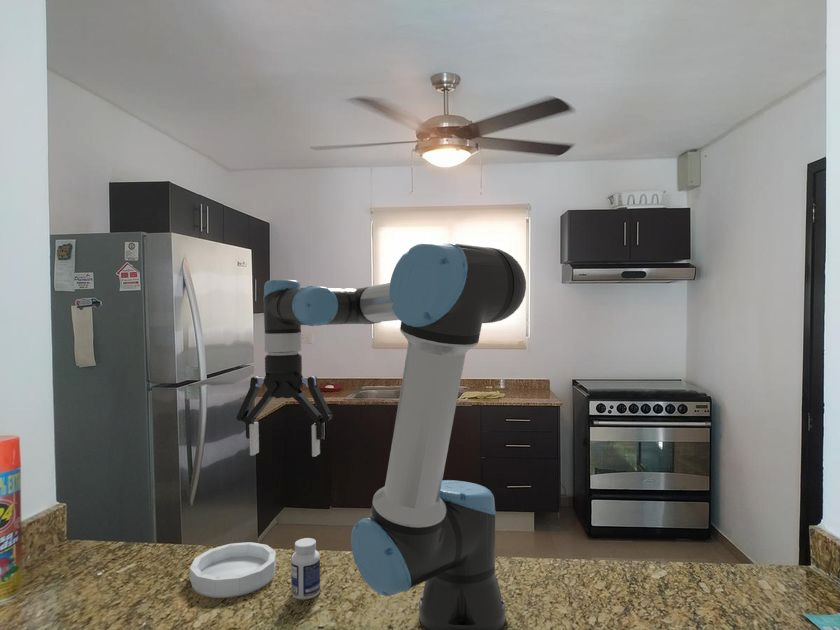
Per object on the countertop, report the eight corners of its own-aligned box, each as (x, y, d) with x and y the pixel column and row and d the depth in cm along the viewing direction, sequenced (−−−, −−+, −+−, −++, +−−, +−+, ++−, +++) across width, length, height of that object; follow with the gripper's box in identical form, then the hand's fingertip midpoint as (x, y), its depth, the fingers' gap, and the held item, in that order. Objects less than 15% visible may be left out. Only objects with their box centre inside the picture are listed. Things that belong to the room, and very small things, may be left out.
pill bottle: (323, 586, 105) (323, 536, 105) (315, 601, 100) (315, 548, 100) (296, 585, 106) (296, 535, 106) (287, 599, 101) (287, 547, 101)
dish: (289, 578, 108) (288, 561, 108) (208, 607, 98) (207, 588, 98) (255, 551, 121) (255, 536, 121) (180, 574, 110) (180, 557, 110)
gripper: (345, 351, 116) (347, 451, 116) (236, 352, 119) (237, 449, 119) (335, 354, 108) (337, 460, 108) (218, 355, 112) (220, 457, 112)
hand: (285, 454), depth 114 cm, fingers open, 13 cm apart
